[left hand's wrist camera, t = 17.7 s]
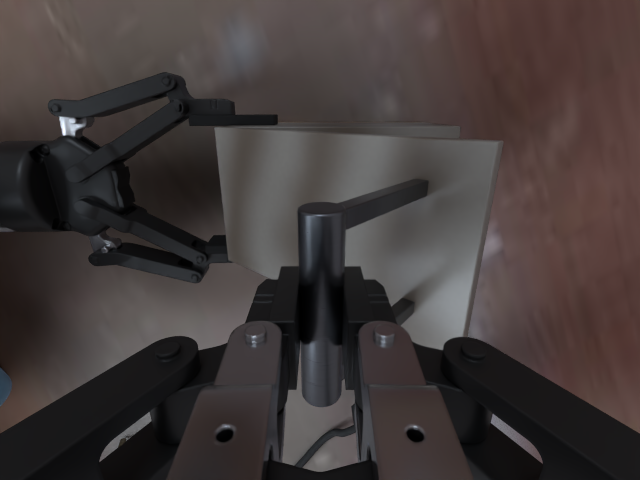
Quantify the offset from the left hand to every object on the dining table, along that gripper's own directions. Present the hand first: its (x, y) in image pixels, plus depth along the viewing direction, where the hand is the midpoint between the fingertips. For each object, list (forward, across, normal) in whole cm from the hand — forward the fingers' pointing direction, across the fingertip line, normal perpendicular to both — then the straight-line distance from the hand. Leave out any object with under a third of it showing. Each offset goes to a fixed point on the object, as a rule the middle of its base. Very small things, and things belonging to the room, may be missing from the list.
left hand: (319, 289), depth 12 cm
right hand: (+18, +4, 0) cm, 18 cm away
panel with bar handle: (+8, 0, 0) cm, 8 cm away
